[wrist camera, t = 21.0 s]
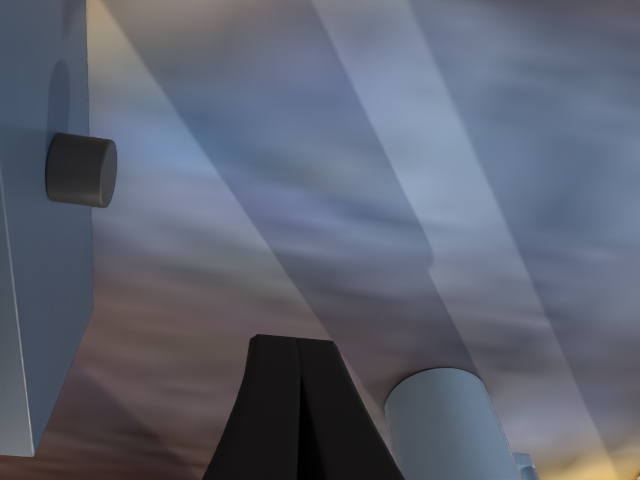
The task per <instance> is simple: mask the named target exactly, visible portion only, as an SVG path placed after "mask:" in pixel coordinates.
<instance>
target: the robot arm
mask: <svg viewBox="0 0 640 480" xmlns="http://www.w3.org/2000/svg"><path fill="white" fill-rule="evenodd" d="M202 480H405V478H404V476H403V475H402V473H401V471H400V470H399V468H398V466H397V464H396V463H395V461H394V459H393V457H392V456H391V454H390V452H389V450H388V448H387V447H386V445H385V443H384V441H383V439H382V438H381V436H380V434H379V432H378V431H377V429H376V427H375V425H374V423H373V421H372V419H371V417H370V416H369V414H368V412H367V410H366V408H365V406H364V404H363V402H362V400H361V398H360V396H359V394H358V392H357V390H356V388H355V385H354V383H353V381H352V379H351V377H350V375H349V373H348V370H347V368H346V366H345V364H344V361H343V359H342V357H341V354H340V352H339V350H338V347H337V346H336V345H335V343H334V342H333V341H328V340H317V339H306V338H295V337H284V336H273V335H263V334H257V335H256V336H254V337H252V338H251V339H250V342H249V348H248V355H247V361H246V367H245V373H244V377H243V381H242V384H241V387H240V390H239V393H238V396H237V399H236V402H235V405H234V407H233V410H232V412H231V415H230V417H229V420H228V422H227V425H226V427H225V430H224V432H223V435H222V437H221V440H220V442H219V444H218V447H217V449H216V451H215V453H214V455H213V458H212V460H211V462H210V464H209V466H208V468H207V470H206V472H205V474H204V476H203V478H202Z"/></svg>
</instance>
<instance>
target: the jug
mask: <svg viewBox="0 0 640 480" xmlns="http://www.w3.org/2000/svg"><path fill="white" fill-rule="evenodd" d="M384 412H385V419H386V424H387V429H388V433H389V438H390V443H391V448H392V453H393V458H394V461H395V463H396V464H397V466H398V468H399V470H400V471H401V473H402V475H403V476H404V478H405V480H540V479H539V477H538V474H537V472H536V470H535V468H534V464H533V462H532V460H531V457H530V455H529V454H519V453H512V451H511V448H510V446H509V443H508V441H507V438H506V436H505V433H504V431H503V428H502V426H501V424H500V421H499V419H498V416H497V414H496V411H495V409H494V406H493V404H492V401H491V399H490V396H489V394H488V391H487V389H486V387H485V385H484V383H483V382H482V381H481V380H480V379H479V378H478V377H476V376H475V375H473V374H471V373H469V372H467V371H464V370H460V369H455V368H436V369H430V370H426V371H422V372H419V373H417V374H414V375H412V376H410V377H408V378H407V379H405V380H404V381H402V382H401V383H399V384H398V385H397V386H396V387H395V388H394V389H393V390H392V392H391V393H390V395H389V396H388V398H387V400H386V404H385V410H384Z"/></svg>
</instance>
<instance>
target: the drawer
mask: <svg viewBox="0 0 640 480" xmlns="http://www.w3.org/2000/svg"><path fill="white" fill-rule="evenodd" d="M116 173H117V150H116V145H115V143H114V141H112V140H109V139H102V138H95V137H89V103H88V64H87V24H86V0H0V455H12V456H29V457H33V456H34V455H35V453H36V450H37V448H38V445H39V443H40V440H41V438H42V436H43V433H44V431H45V428H46V426H47V423H48V421H49V418H50V416H51V413H52V411H53V408H54V406H55V403H56V401H57V398H58V396H59V393H60V391H61V388H62V386H63V383H64V381H65V378H66V376H67V373H68V371H69V368H70V366H71V363H72V361H73V359H74V356H75V354H76V351H77V349H78V346H79V344H80V341H81V339H82V336H83V334H84V331H85V329H86V326H87V324H88V321H89V319H90V316H91V314H92V311H93V309H94V301H93V262H92V222H91V206H92V207H101V208H105V207H107V206H108V205H109V203H110V201H111V198H112V195H113V192H114V187H115V181H116Z"/></svg>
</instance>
